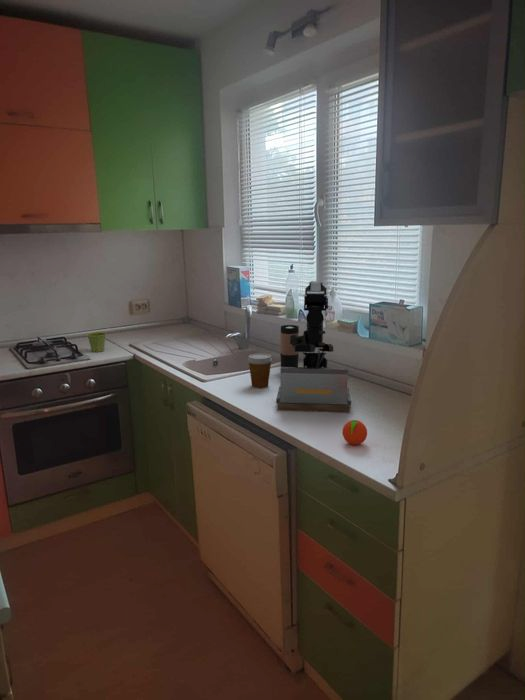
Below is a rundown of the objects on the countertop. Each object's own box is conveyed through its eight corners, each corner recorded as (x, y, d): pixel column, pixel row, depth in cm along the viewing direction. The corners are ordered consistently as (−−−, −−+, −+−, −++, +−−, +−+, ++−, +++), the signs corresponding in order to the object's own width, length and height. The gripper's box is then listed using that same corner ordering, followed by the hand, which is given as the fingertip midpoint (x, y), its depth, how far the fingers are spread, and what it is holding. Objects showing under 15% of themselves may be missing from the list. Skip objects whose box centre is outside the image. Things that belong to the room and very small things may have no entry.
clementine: (363, 452, 141) (364, 427, 140) (338, 448, 144) (339, 424, 142) (368, 441, 149) (369, 417, 147) (345, 437, 151) (345, 414, 150)
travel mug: (277, 371, 221) (277, 325, 216) (292, 369, 224) (292, 324, 220) (286, 376, 214) (286, 328, 210) (301, 373, 218) (302, 327, 213)
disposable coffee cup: (244, 383, 204) (244, 354, 202) (267, 381, 207) (267, 352, 205) (252, 390, 196) (251, 360, 193) (275, 388, 199) (275, 357, 196)
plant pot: (92, 354, 255) (90, 336, 253) (85, 350, 262) (83, 334, 260) (110, 351, 261) (109, 334, 259) (103, 348, 268) (101, 331, 266)
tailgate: (280, 401, 175) (280, 366, 172) (346, 403, 172) (347, 368, 170) (280, 402, 173) (280, 368, 171) (346, 404, 171) (347, 369, 168)
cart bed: (279, 397, 188) (279, 386, 187) (348, 399, 185) (348, 388, 184) (276, 410, 174) (276, 398, 173) (350, 412, 172) (351, 401, 171)
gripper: (307, 328, 192) (306, 370, 193) (281, 327, 177) (280, 372, 177) (334, 328, 186) (333, 371, 187) (310, 327, 171) (309, 374, 171)
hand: (313, 372), depth 180 cm, fingers closed
